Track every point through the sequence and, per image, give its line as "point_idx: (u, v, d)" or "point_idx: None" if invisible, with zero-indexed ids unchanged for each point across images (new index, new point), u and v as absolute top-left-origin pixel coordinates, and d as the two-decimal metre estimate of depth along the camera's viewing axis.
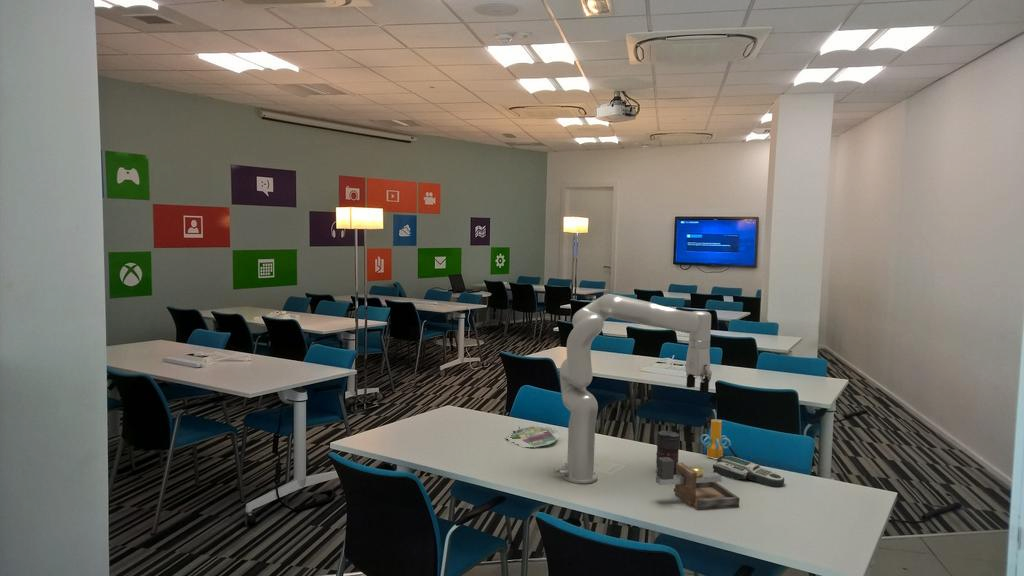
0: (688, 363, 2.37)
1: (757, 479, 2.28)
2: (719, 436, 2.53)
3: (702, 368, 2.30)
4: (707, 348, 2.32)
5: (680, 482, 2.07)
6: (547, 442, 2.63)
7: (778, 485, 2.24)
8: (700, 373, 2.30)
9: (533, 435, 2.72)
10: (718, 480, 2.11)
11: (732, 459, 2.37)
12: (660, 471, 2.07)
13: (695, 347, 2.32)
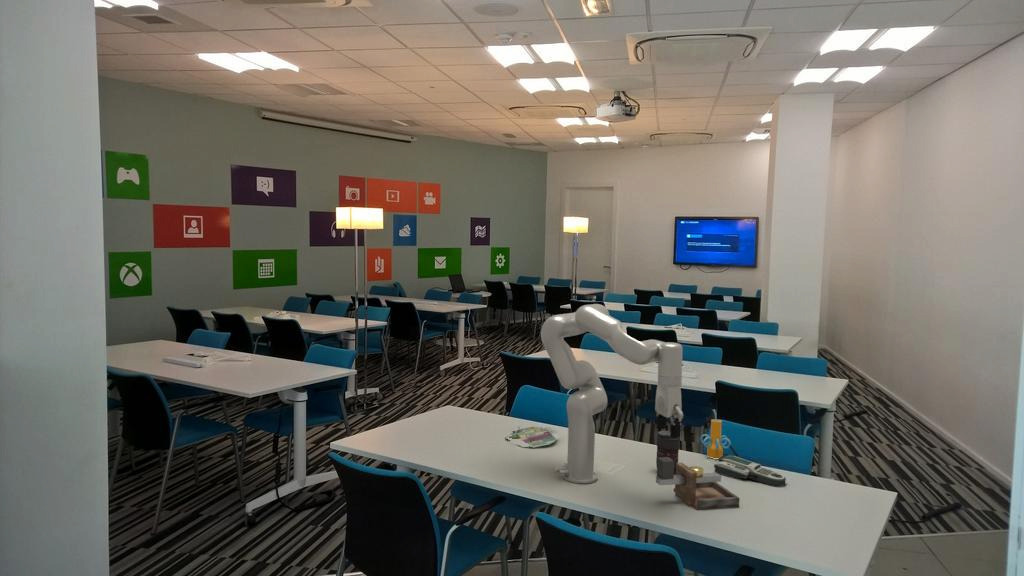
0: (657, 402, 2.08)
1: (758, 478, 2.28)
2: (719, 436, 2.53)
3: (672, 408, 2.01)
4: (678, 385, 2.03)
5: (680, 482, 2.07)
6: (547, 442, 2.63)
7: (779, 484, 2.25)
8: (670, 414, 2.01)
9: (533, 435, 2.72)
10: (718, 480, 2.11)
11: (733, 459, 2.38)
12: (660, 471, 2.07)
13: (664, 384, 2.03)
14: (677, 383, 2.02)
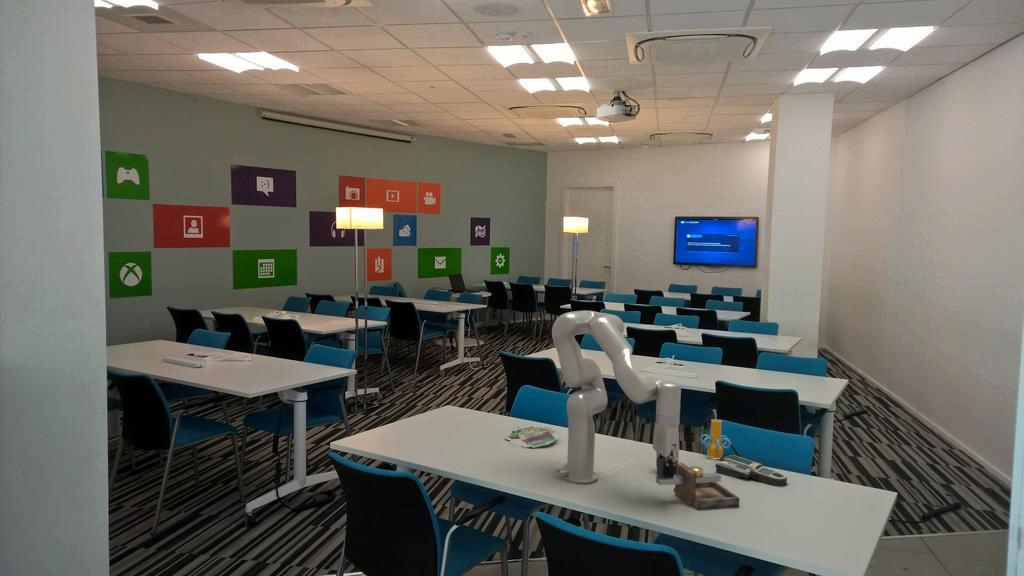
0: (655, 440, 2.09)
1: (760, 478, 2.29)
2: (719, 436, 2.53)
3: (670, 448, 2.02)
4: (676, 425, 2.04)
5: (680, 482, 2.07)
6: (546, 442, 2.63)
7: (781, 484, 2.25)
8: (668, 454, 2.02)
9: (532, 435, 2.72)
10: (718, 480, 2.11)
11: (734, 459, 2.38)
12: (660, 471, 2.07)
13: (662, 423, 2.04)
14: (675, 423, 2.03)
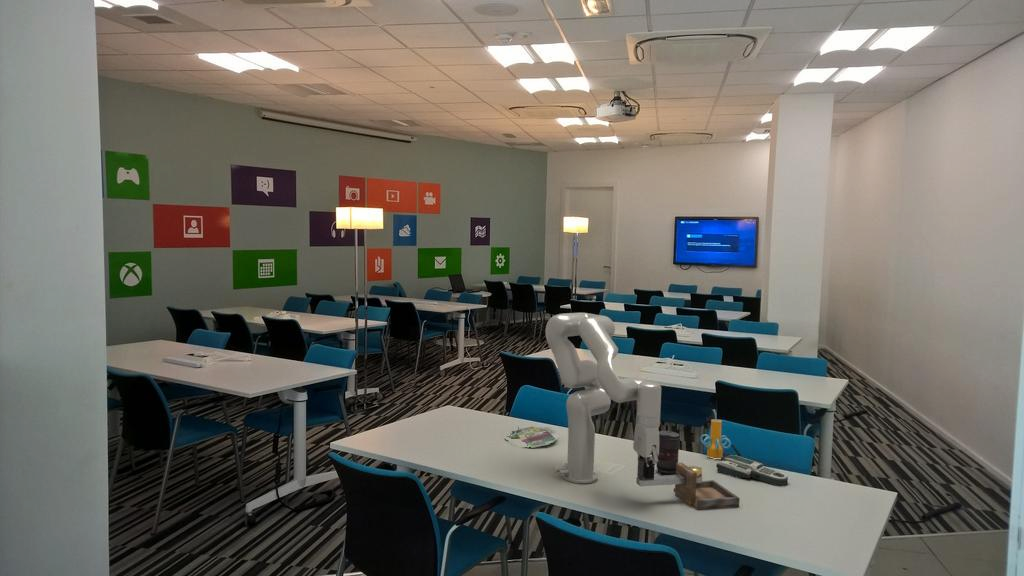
0: (636, 441, 2.07)
1: (761, 478, 2.29)
2: (719, 436, 2.53)
3: (650, 449, 2.00)
4: (656, 425, 2.02)
5: (661, 483, 2.06)
6: (546, 442, 2.63)
7: (781, 484, 2.25)
8: (648, 455, 2.00)
9: (532, 435, 2.72)
10: (699, 481, 2.09)
11: (735, 458, 2.39)
12: (640, 472, 2.05)
13: (642, 424, 2.02)
14: (655, 423, 2.02)
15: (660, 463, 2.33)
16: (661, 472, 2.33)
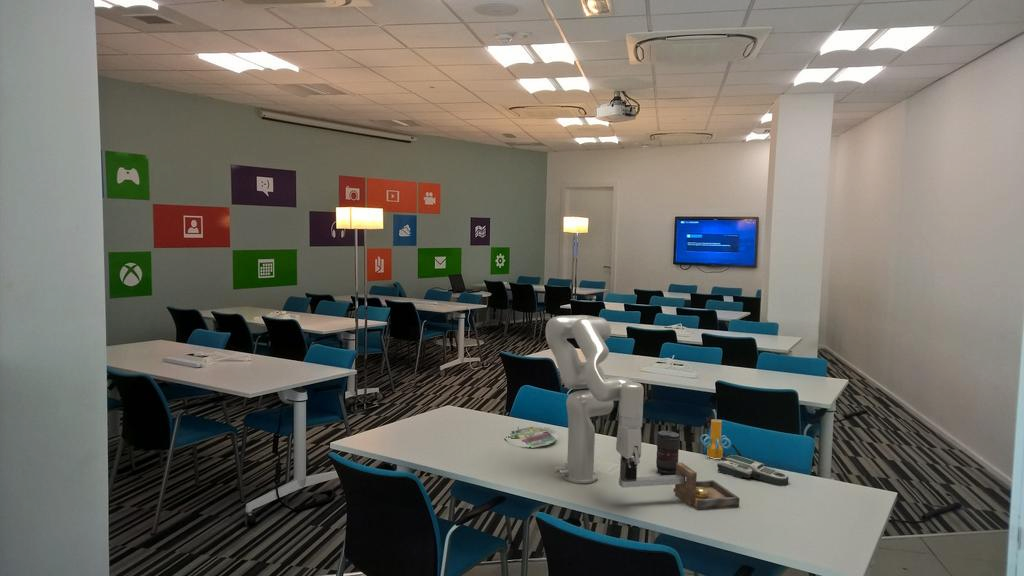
0: (618, 441, 2.06)
1: (761, 478, 2.29)
2: (719, 436, 2.53)
3: (632, 450, 1.99)
4: (638, 426, 2.01)
5: (643, 484, 2.05)
6: (546, 442, 2.63)
7: (782, 483, 2.26)
8: (630, 456, 1.99)
9: (532, 435, 2.72)
10: (682, 482, 2.08)
11: (736, 458, 2.39)
12: (623, 473, 2.04)
13: (624, 425, 2.01)
14: (637, 424, 2.00)
15: (660, 463, 2.33)
16: (661, 472, 2.33)
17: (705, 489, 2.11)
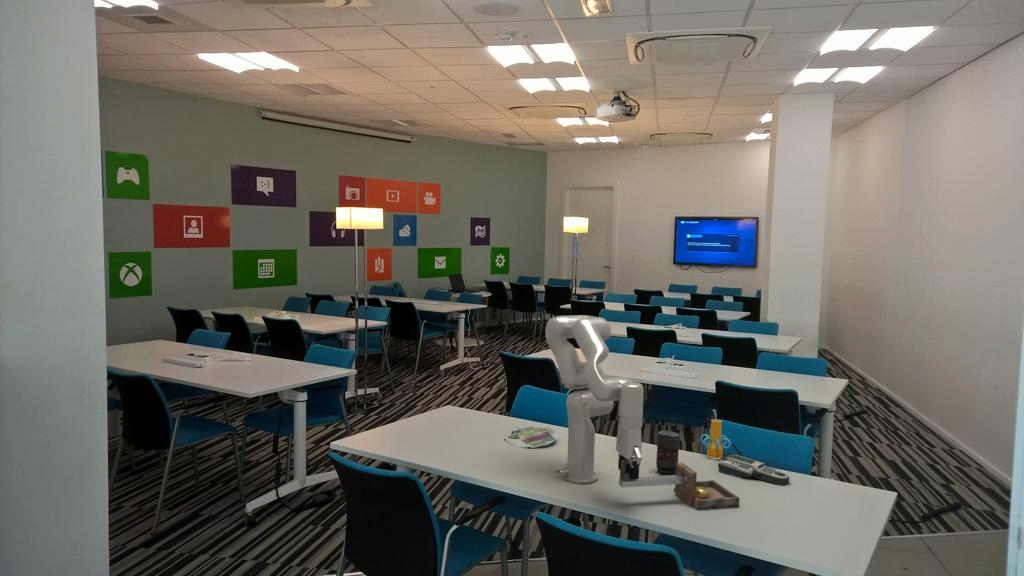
0: (618, 441, 2.06)
1: (762, 477, 2.29)
2: (719, 436, 2.53)
3: (632, 450, 1.99)
4: (638, 426, 2.01)
5: (643, 484, 2.05)
6: (546, 442, 2.63)
7: (783, 483, 2.26)
8: (630, 456, 1.99)
9: (532, 435, 2.72)
10: (682, 482, 2.08)
11: (736, 458, 2.39)
12: (623, 473, 2.04)
13: (624, 425, 2.01)
14: (637, 424, 2.00)
15: (660, 463, 2.33)
16: (661, 472, 2.33)
17: (705, 489, 2.10)
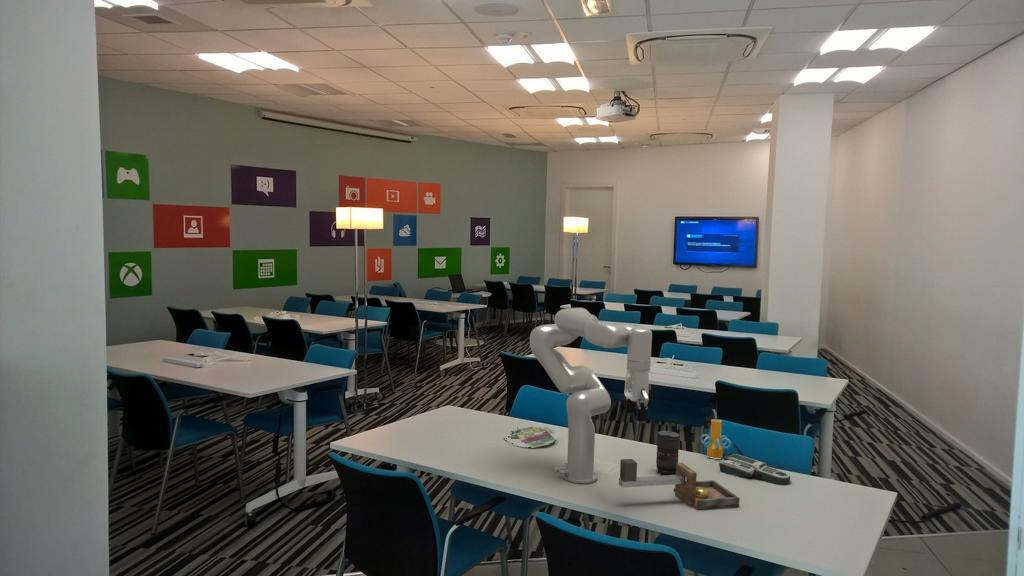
0: (626, 386, 2.10)
1: (763, 477, 2.30)
2: (719, 436, 2.53)
3: (639, 393, 2.03)
4: (646, 370, 2.04)
5: (643, 484, 2.05)
6: (546, 442, 2.63)
7: (784, 483, 2.27)
8: (637, 398, 2.03)
9: (532, 435, 2.72)
10: (682, 482, 2.08)
11: (738, 458, 2.40)
12: (623, 473, 2.04)
13: (632, 368, 2.05)
14: (645, 368, 2.04)
15: (660, 463, 2.33)
16: (661, 472, 2.33)
17: (705, 490, 2.10)
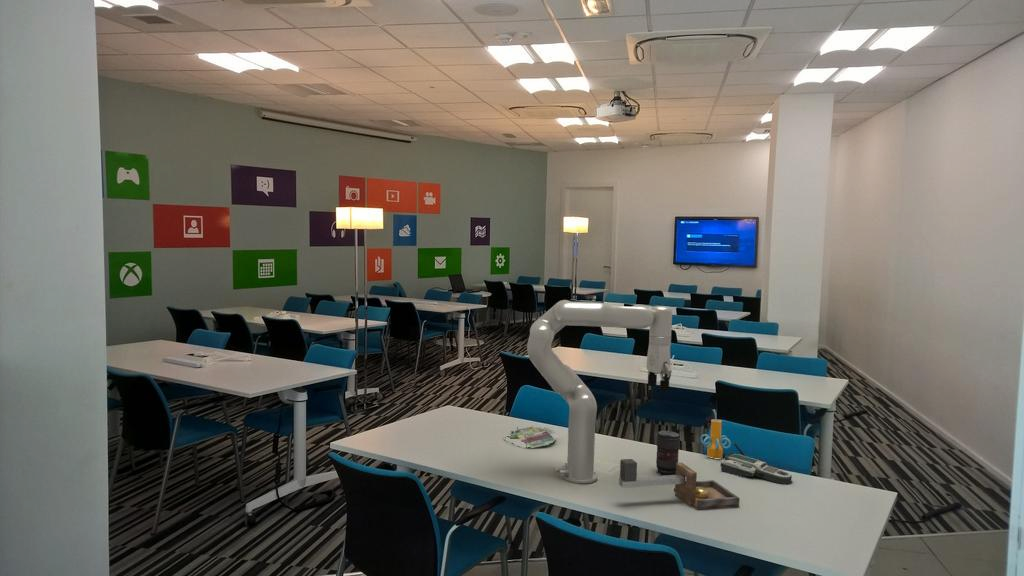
0: (649, 360, 2.27)
1: (765, 476, 2.30)
2: (719, 436, 2.53)
3: (662, 365, 2.20)
4: (667, 345, 2.22)
5: (643, 484, 2.05)
6: (545, 442, 2.63)
7: (786, 482, 2.27)
8: (660, 371, 2.20)
9: (531, 435, 2.72)
10: (682, 482, 2.08)
11: (739, 457, 2.40)
12: (623, 473, 2.04)
13: (655, 343, 2.22)
14: (667, 343, 2.22)
15: (660, 463, 2.33)
16: (661, 472, 2.33)
17: (705, 490, 2.10)
